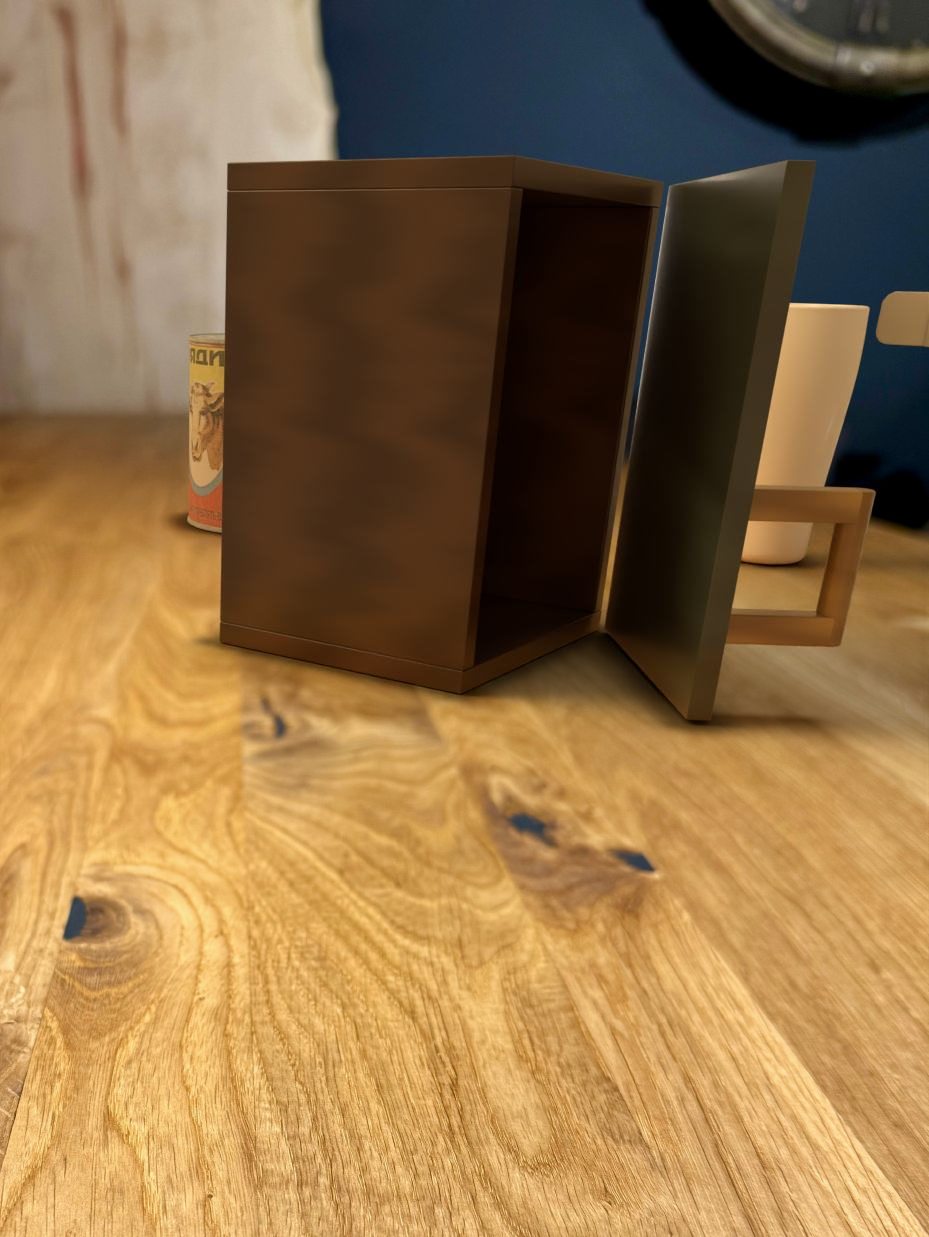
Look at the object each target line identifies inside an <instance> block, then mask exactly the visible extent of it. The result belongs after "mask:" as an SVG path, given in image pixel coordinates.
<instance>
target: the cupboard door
mask: <svg viewBox="0 0 929 1237" xmlns="http://www.w3.org/2000/svg"><path fill="white" fill-rule="evenodd" d="M816 167H817V160H809V159H808V160H806V159H805V160H803V159H786V160H782V161H777V162H773V163H772V162H771V163H768V164H763V165H758V166H753V167H750V168H746V169H740V170H735V171H731V172H726V173H721V174H718V175H712V176H708V177H703V178H698V179H694V180H690V181H683V182H679V183H675V184H670V185H669V186H668V193H667V199H666V207H665V212H664V214H665V215H664V219H663V226H662V233H661V239H660V246H659V253H658V258H657V259H658V260H657V266H656V267H657V268H656V274H655V281H654V288H653V295H652V299H651V300H652V301H651V307H650V314H649V321H648V326H647V327H648V329H647V335H646V342H645V349H644V355H643V361H642V367H641V368H642V369H641V374H640V375H641V376H640V381H639V387H638V388H639V389H638V396H637V404H636V411H635V417H634V422H633V430H632V436H631V443H630V444H631V445H630V449H629V457H628V464H627V469H626V470H627V472H626V478H625V483H624V484H625V485H624V491H623V498H622V505H621V512H620V518H619V525H618V532H617V539H616V545H615V552H614V559H613V566H612V573H611V579H610V585H609V586H610V587H609V593H608V598H607V599H608V600H607V605H606V606H607V607H606V613H605V619H604V626H603V629H604V630H605V631H606V633H608V635H609V636H610V637H611V638H612V639H613V640H614V641H615V642H616V644H618V646H619V647H620V648H621V649H622V650H623V651H624V652H625V654H627V656H628V657H629V658H630V659H631V660H632V661H633V663H635V664H636V665H637V667H638V668H639V669H640V670H641V672H643V673H644V675H645V676H647V678H648V679H649V680H650V681H651V682H652V683H653V684H654V686H656V688H657V689H658V690H659V691H660V692H661V694H663V695H664V697H666V699H667V700H668V701H669V703H671V704H672V705H673V707H675V709H676V710H677V711H678V712H679V713H680V714H681V715H682V717H684V719H685V720H687V721H711V720H712V717H713V711H714V707H715V706H714V704H715V701H716V695H717V689H718V684H719V678H720V673H721V668H722V663H723V657H724V652H725V649H726V648H725V647H726V645H747V646H783V647H784V646H785V647H810V648H811V647H813V648H814V647H815V648H817V647H818V648H837V647H840V646H841V645H842V641H843V638H844V633H845V628H846V623H847V619H848V616H849V612H850V607H851V602H852V598H853V593H854V589H855V585H856V580H857V578H858V577H857V576H858V572H859V567H860V563H861V559H862V555H863V550H864V546H865V542H866V536H867V532H868V528H869V523H870V520H871V516H872V510H873V506H874V501H875V498H876V494H877V493H876V491H875V490H874V489H871V488H866V487H845V486H844V487H843V486H842V487H841V486H824V487H814V486H780V485H755V484H756V479H757V474H758V468H759V463H760V458H761V453H762V447H763V442H764V437H765V431H766V426H767V421H768V416H769V410H770V405H771V400H772V395H773V389H774V384H775V379H776V373H777V368H778V363H779V358H780V352H781V347H782V342H783V337H784V331H785V326H786V321H787V315H788V310H789V305H790V303H791V300H792V299H791V298H792V295H793V288H794V283H795V279H796V278H795V277H796V273H797V267H798V262H799V256H800V251H801V246H802V240H803V236H804V232H805V231H804V230H805V226H806V220H807V214H808V209H809V205H810V199H811V195H812V188H813V183H814V177H815V174H816V173H815V172H816ZM748 521H770V522H804V523H813V524H834V526H833V529H832V534H831V539H830V543H829V547H828V553H827V557H826V562H825V566H824V571H823V576H822V580H821V584H820V590H819V594H818V599H817V602H816V608H815V610H804V609H803V610H802V609H801V610H800V609H769V608H768V609H765V608H760V609H759V608H738V607H737V608H735V607H734V608H733V604H734V599H735V595H736V590H737V584H738V578H739V572H740V568H741V563H742V561H741V558H742V553H743V547H744V542H745V537H746V532H747V526H748Z"/></svg>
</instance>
